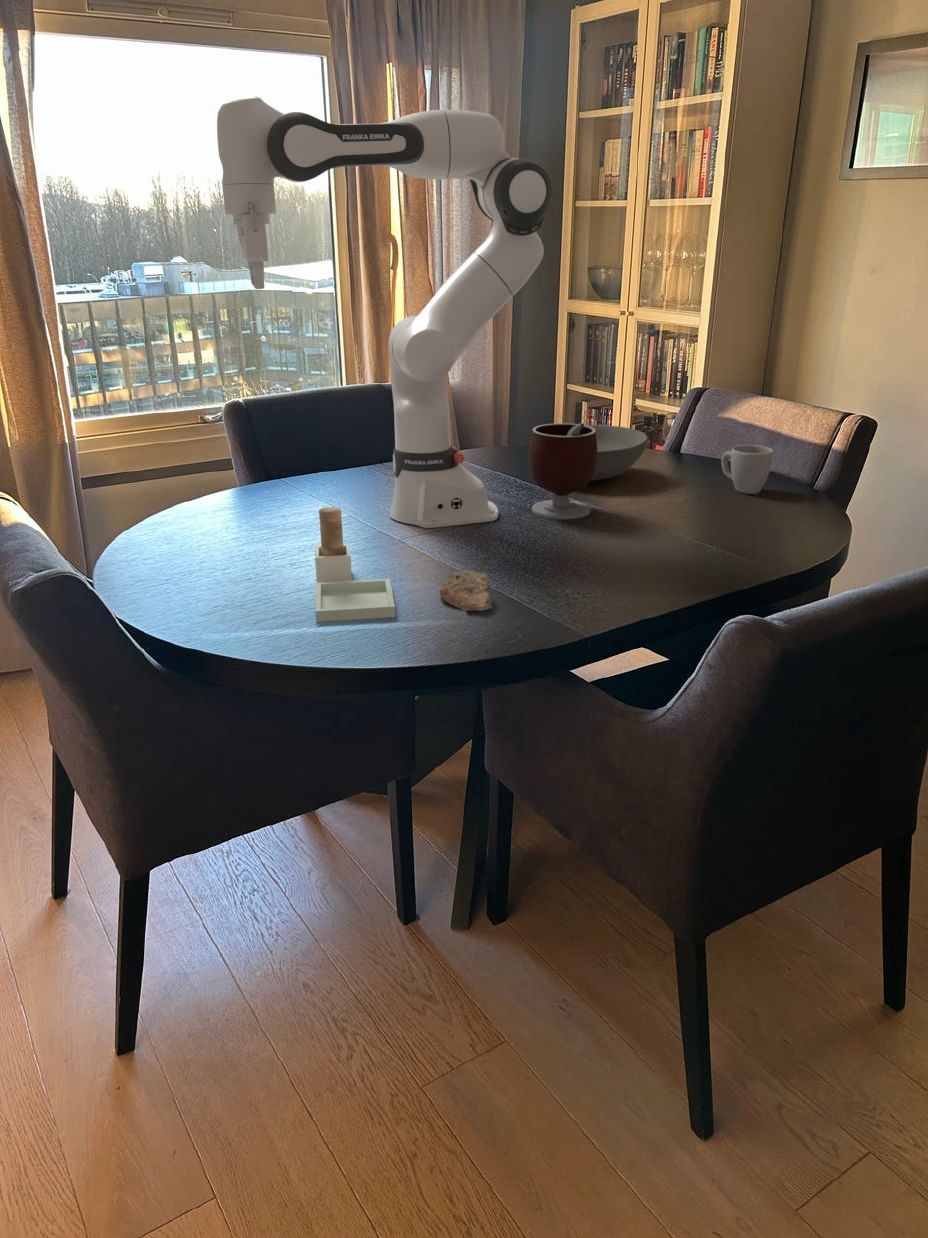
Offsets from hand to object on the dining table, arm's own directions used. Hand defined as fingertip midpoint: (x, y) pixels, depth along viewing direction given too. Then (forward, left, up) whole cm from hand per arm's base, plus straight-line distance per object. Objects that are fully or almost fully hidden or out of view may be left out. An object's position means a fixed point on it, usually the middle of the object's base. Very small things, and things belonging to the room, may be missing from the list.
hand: (258, 287), depth 166 cm
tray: (-14, +45, -45) cm, 65 cm away
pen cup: (-11, +33, -45) cm, 57 cm away
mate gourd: (-59, -1, -46) cm, 74 cm away
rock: (-32, +45, -46) cm, 71 cm away
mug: (-103, -11, -46) cm, 113 cm away
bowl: (-72, -28, -46) cm, 90 cm away
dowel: (-11, +33, -45) cm, 56 cm away
